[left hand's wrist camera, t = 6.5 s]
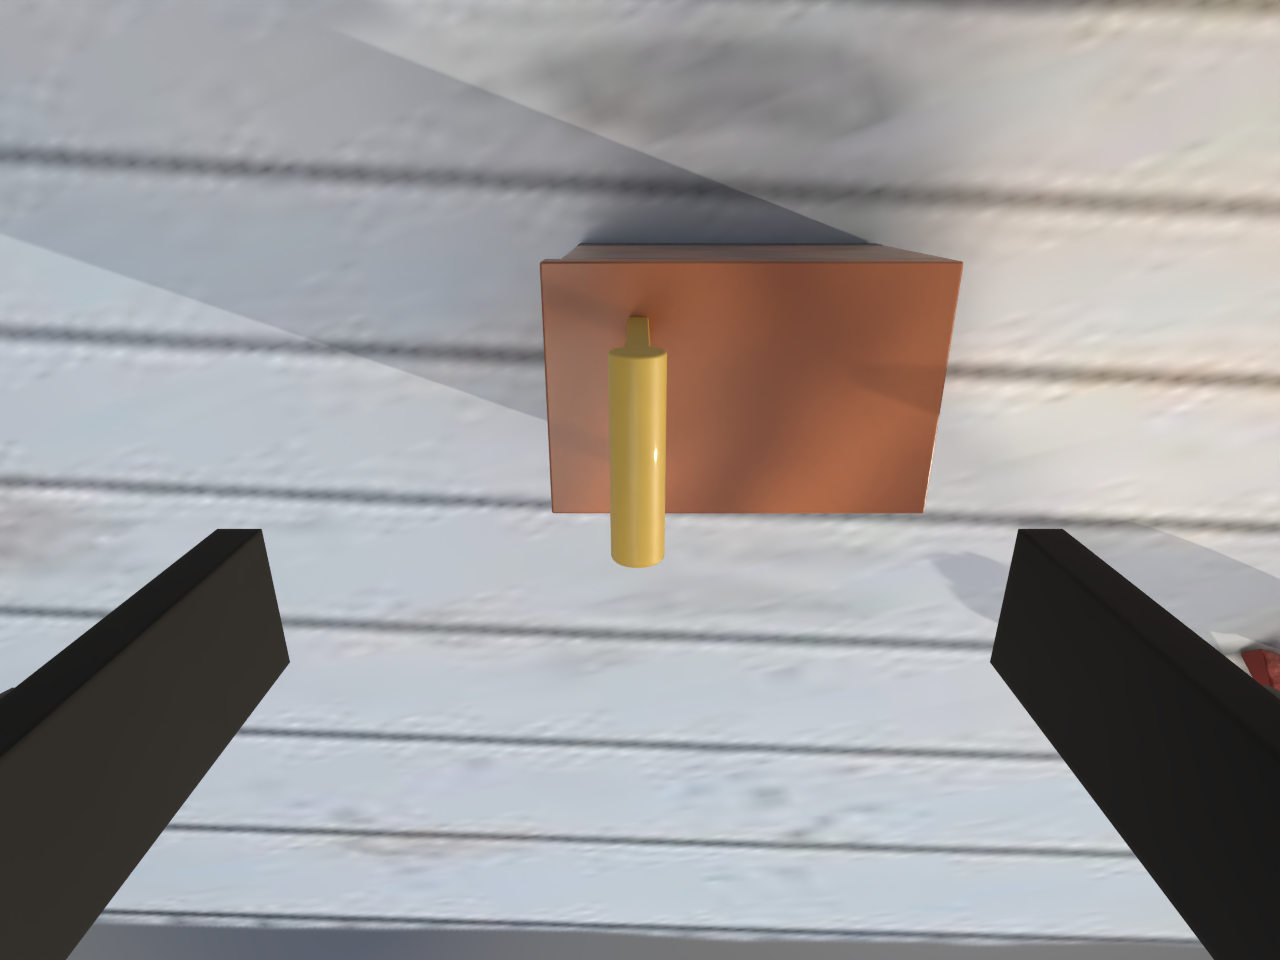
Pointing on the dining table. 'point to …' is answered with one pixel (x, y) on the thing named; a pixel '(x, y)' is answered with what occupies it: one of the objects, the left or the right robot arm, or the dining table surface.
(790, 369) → the lid
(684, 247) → the chest
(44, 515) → the dining table surface
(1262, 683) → the dental model
